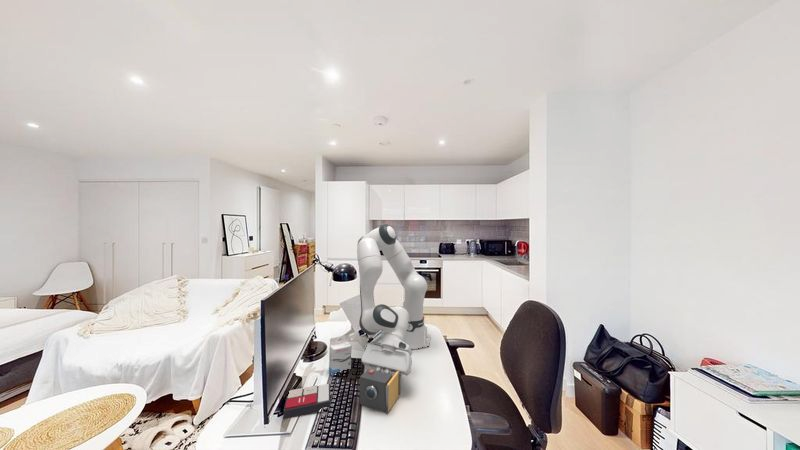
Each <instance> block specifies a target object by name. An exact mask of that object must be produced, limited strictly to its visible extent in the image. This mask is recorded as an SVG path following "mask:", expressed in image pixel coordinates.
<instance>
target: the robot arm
mask: <svg viewBox="0 0 800 450" xmlns="http://www.w3.org/2000/svg"><path fill="white" fill-rule="evenodd" d="M356 245H357V246H356V247H357V249H356V255H357V257H356V258H357V263H358V264H357V265H358V271H359V273H358V274H359V294H360V296H359V297H360V307H361V308H360V317H359V328H360V330H361V331H362V332H363V333H364V334H366V335H368V336H375V335H376V334H377V333H379V332H380V331H381V332H383V336H382V338H381V340H380V341H381V342H375V341H371V342H368V343H367V345H366V347H365V350H364V352H363V354H362V357H361V363H362V364H363V365H364V366H366V367H371V368H375V369H376V371H380V372H383V371H385V372H384V373H388V374H391V373H394V374H395V373H396V372H397V371H399V372H400V373H401V375H405V376H409V375H410V374H411V371H412V365H413V359H412V357H411V356H412V355H413V351H412V350H417V349H418V348H419V349H423V348H428V347H427V346H429V347H430V345H429V343H430V344H431V339H430V337H431V334H429V333H428V328H427V326H426V325H425V315H424V302H425V295H426V293H427V291H428V282H427V280H426V279H425V277H424V276H422V275H420V274H419V273H418V272H417V270H416V269H415V267H414V264H413V263H412V260H411V258H410V256H409V255H408V253H407V252H406V249H405V248H404V247H403V245H402V244H401V242H400V241H399V240H398V239H397V232H396V230H395V229H394V227H393V226H392V225H390V224H388V223H387V224H382V225H380V226H379V227H376V228H375V229H372V230H371V231H370V232H368V233H367V234H365V235H364V236H361V237H360V238H359V239H358V241H357V244H356ZM380 251H382V254H383V256H384V258H385V259H386V261H387V262H388V264H389V266H390V267H391V269H392V270H393V272H394V274H395V276H396V277H397V279H398V281H399V283H400V284H401V286H402V288H403V289H404V290H405V295H404V296H405V297H404V299H403V302H402V306H400V305H396V306H388V305H386V304H382V303H381V304H378V305H376V306H375V304H376V303H375V293H374V292H375V287H376V285H377V283H378V281H379V279H380V278H381V276H382V274H383V270H384V269H383V268H384V267H383V261H382V260H383V259H382V255H381V252H380ZM422 347H423V348H422Z"/></svg>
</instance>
